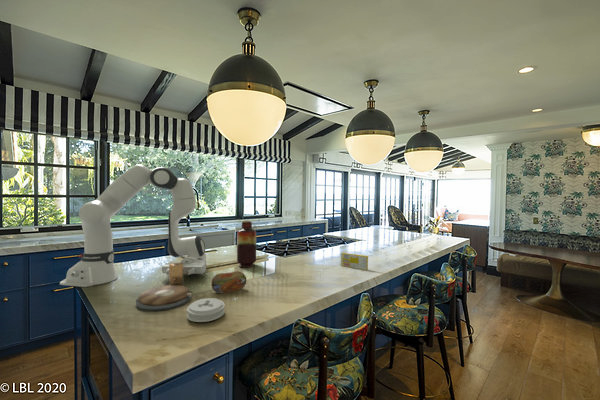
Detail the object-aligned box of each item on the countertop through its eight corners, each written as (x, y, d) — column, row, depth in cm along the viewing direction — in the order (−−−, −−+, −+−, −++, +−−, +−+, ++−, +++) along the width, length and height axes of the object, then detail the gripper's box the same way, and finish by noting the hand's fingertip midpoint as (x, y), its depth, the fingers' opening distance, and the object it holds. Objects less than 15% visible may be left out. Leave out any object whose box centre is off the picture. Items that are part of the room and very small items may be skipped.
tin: (212, 295, 117) (212, 275, 117) (210, 292, 120) (210, 273, 120) (246, 289, 124) (246, 271, 124) (244, 287, 127) (244, 269, 127)
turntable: (128, 305, 102) (128, 301, 102) (154, 288, 120) (154, 284, 120) (181, 306, 102) (181, 302, 102) (199, 288, 120) (199, 285, 120)
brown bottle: (233, 265, 163) (233, 221, 163) (249, 262, 171) (249, 220, 170) (243, 269, 155) (243, 223, 154) (259, 265, 163) (260, 221, 162)
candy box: (368, 270, 157) (368, 255, 157) (366, 271, 155) (367, 256, 155) (341, 265, 166) (342, 252, 165) (340, 266, 164) (340, 252, 163)
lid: (220, 324, 92) (220, 309, 92) (181, 325, 91) (181, 310, 91) (227, 308, 105) (227, 295, 105) (193, 308, 104) (193, 295, 104)
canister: (166, 287, 125) (166, 265, 125) (172, 283, 131) (172, 262, 131) (179, 288, 125) (179, 266, 125) (185, 283, 131) (185, 262, 131)
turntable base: (124, 310, 101) (124, 306, 101) (153, 290, 121) (153, 287, 121) (178, 311, 101) (178, 307, 101) (198, 291, 121) (198, 288, 121)
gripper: (169, 258, 143) (155, 266, 129) (208, 259, 143) (199, 266, 130) (169, 270, 143) (155, 279, 130) (208, 271, 144) (199, 279, 130)
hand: (177, 272), depth 130 cm, fingers open, 8 cm apart
